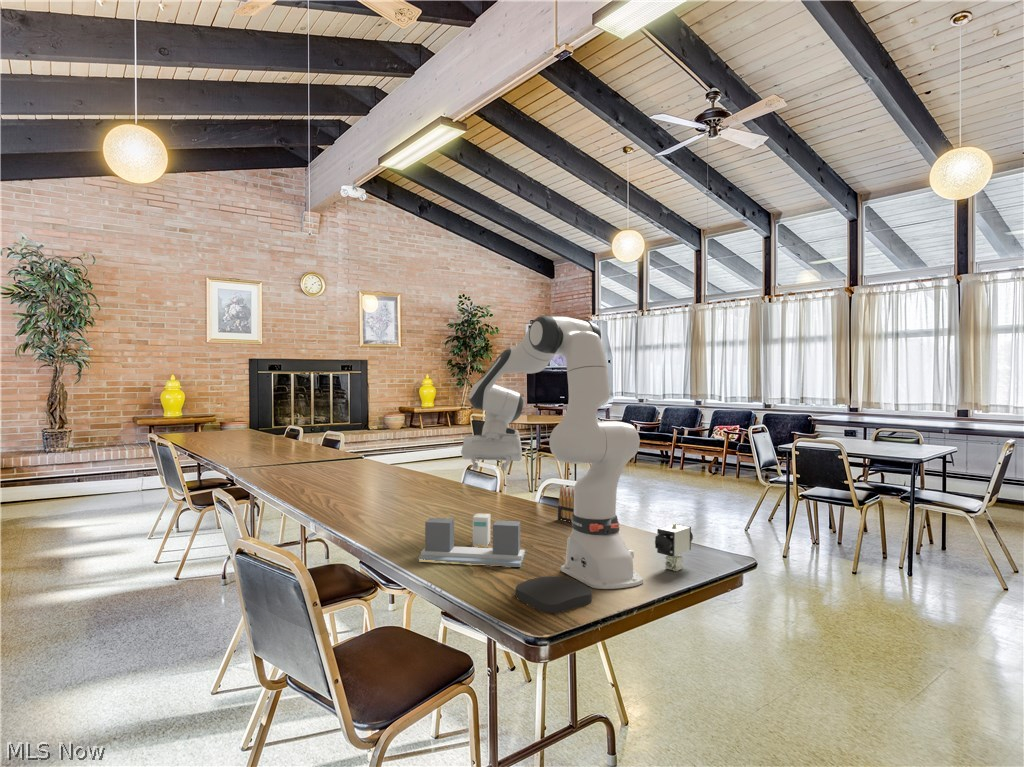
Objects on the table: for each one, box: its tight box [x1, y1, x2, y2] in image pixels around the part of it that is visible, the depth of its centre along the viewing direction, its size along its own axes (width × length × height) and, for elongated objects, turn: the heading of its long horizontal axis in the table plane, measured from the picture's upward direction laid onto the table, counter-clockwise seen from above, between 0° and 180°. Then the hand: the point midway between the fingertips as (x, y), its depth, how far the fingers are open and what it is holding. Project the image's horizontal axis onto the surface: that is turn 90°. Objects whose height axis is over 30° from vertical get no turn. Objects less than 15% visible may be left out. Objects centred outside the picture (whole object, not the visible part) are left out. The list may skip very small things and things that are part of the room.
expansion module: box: [472, 512, 492, 547], centre depth 168 cm, size 5×4×9 cm
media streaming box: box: [514, 576, 593, 614], centre depth 127 cm, size 15×15×3 cm
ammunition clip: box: [557, 486, 574, 523], centre depth 197 cm, size 11×2×12 cm, turn 45°
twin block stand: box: [417, 517, 526, 568], centre depth 155 cm, size 12×28×10 cm, turn 82°
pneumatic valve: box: [654, 523, 694, 572], centre depth 148 cm, size 6×12×12 cm, turn 133°
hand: (489, 469), depth 180 cm, fingers open, 8 cm apart
